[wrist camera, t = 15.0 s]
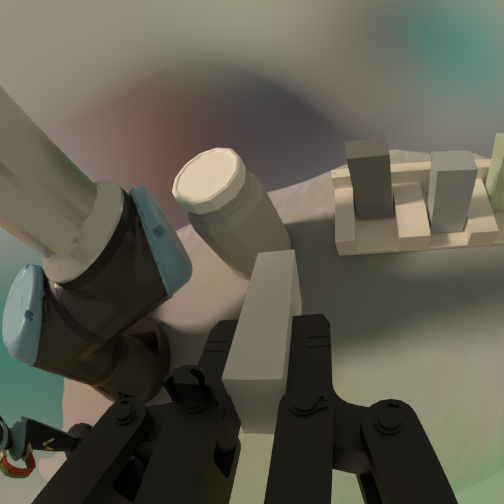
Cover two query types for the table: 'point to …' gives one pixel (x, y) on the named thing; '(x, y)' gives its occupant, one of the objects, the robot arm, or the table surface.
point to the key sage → (496, 175)
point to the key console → (412, 216)
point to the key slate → (450, 190)
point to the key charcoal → (370, 177)
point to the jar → (230, 209)
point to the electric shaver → (35, 442)
